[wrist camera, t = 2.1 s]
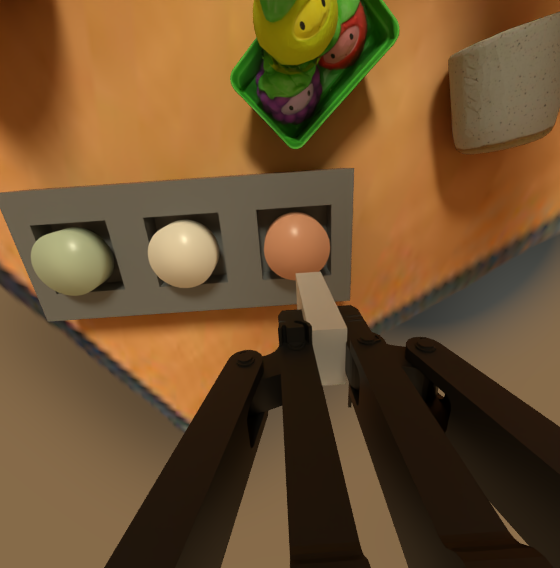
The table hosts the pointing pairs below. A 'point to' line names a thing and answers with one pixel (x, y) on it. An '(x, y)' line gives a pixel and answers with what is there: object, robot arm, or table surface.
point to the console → (186, 206)
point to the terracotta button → (296, 245)
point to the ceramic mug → (506, 87)
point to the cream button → (183, 253)
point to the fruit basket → (310, 59)
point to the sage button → (72, 260)
